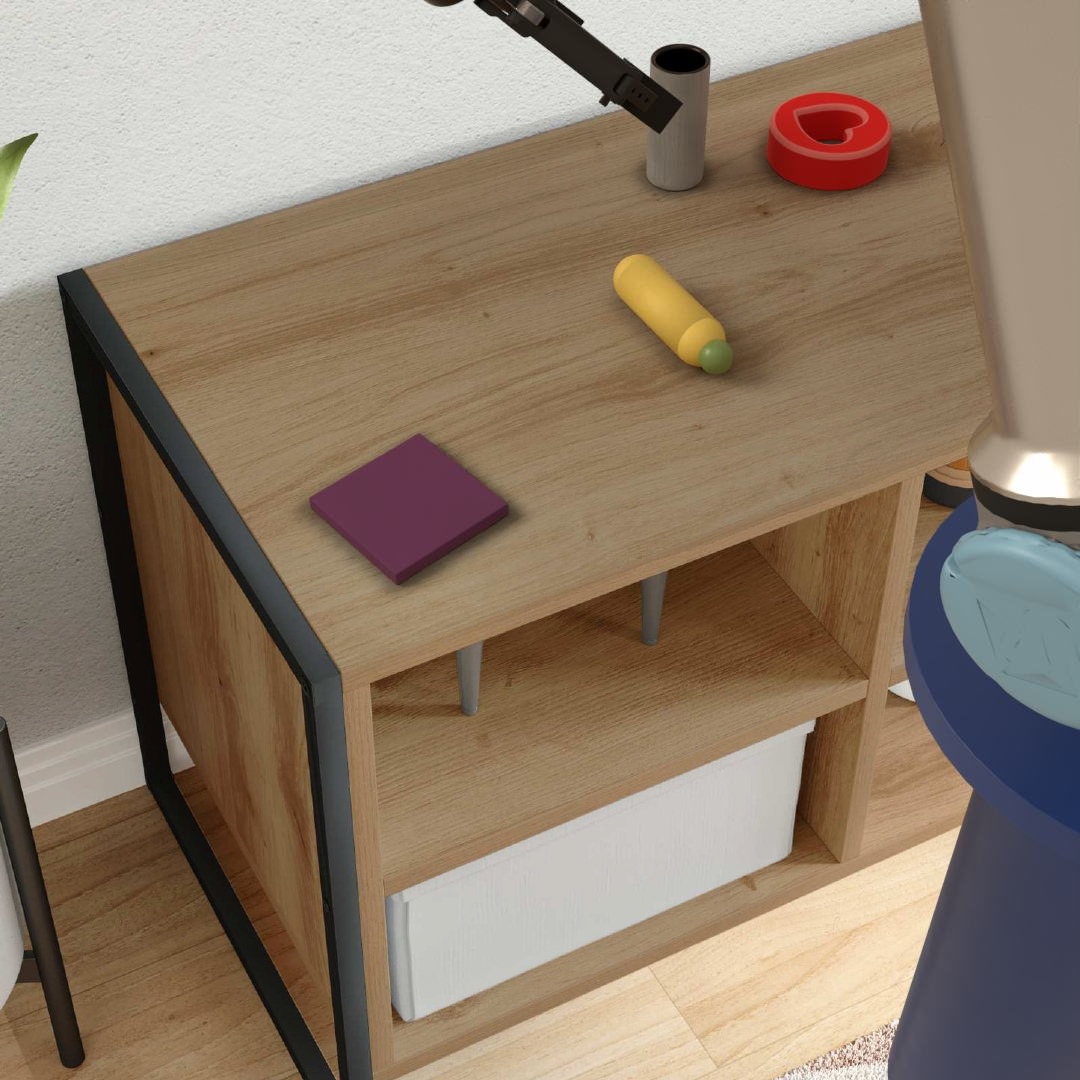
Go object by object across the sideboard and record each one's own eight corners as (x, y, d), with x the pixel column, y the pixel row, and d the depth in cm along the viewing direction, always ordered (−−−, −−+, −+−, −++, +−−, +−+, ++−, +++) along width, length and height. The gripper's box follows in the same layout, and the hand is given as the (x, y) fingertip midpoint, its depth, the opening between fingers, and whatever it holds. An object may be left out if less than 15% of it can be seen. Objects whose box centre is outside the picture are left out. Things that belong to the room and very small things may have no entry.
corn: (745, 377, 109) (749, 337, 106) (702, 395, 108) (705, 354, 105) (645, 278, 117) (646, 238, 114) (603, 294, 115) (604, 253, 113)
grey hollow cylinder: (693, 196, 124) (701, 78, 116) (638, 185, 125) (642, 68, 117) (709, 165, 127) (718, 48, 119) (655, 155, 128) (660, 38, 120)
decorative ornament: (771, 119, 131) (775, 85, 129) (889, 129, 130) (894, 95, 127) (761, 184, 125) (764, 149, 122) (884, 195, 123) (890, 160, 121)
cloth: (508, 514, 100) (508, 503, 99) (396, 585, 96) (395, 574, 95) (420, 443, 105) (419, 432, 104) (310, 508, 101) (308, 497, 100)
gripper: (309, -99, 109) (506, 42, 125) (481, 61, 94) (679, 198, 110) (372, -194, 107) (563, -38, 123) (557, -46, 92) (748, 110, 108)
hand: (618, 74), depth 116 cm, fingers open, 13 cm apart
